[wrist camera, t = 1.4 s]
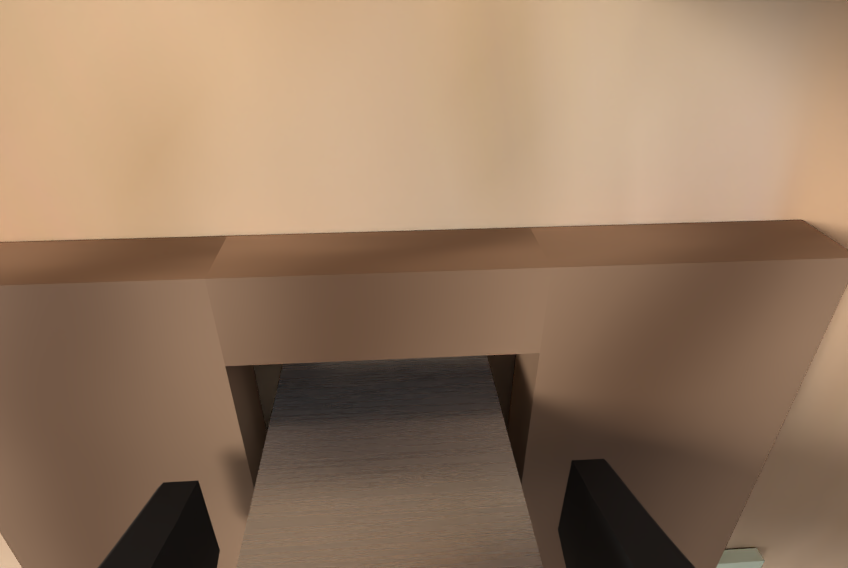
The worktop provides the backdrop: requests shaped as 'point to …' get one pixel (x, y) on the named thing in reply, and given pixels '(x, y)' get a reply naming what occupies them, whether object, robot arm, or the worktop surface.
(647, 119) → the worktop surface
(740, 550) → the green pad
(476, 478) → the steel block
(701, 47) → the worktop surface
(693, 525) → the walnut rail
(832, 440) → the worktop surface
